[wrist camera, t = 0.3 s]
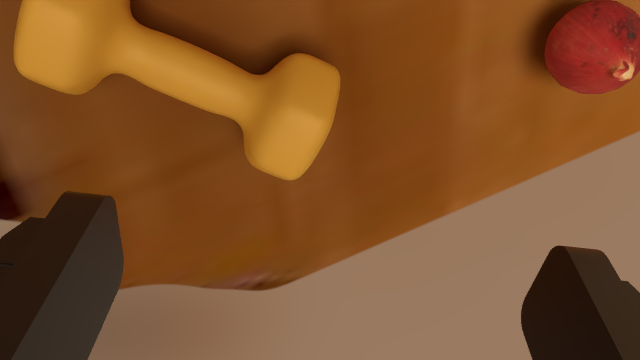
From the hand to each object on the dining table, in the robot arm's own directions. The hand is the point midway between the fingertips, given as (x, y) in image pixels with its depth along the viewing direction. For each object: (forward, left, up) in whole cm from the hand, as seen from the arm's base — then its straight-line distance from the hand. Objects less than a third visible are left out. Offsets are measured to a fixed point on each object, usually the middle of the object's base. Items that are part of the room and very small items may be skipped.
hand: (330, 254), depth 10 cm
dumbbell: (+6, -8, -29) cm, 30 cm away
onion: (+4, +19, -29) cm, 34 cm away
